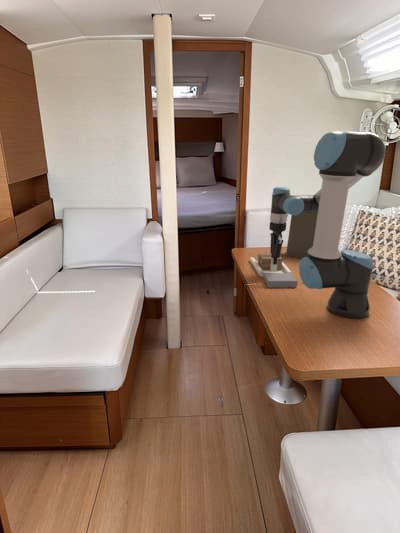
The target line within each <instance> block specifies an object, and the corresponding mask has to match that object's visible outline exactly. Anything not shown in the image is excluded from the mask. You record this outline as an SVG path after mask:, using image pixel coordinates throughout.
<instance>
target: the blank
mask: <svg viewBox="0 0 400 533" xmlns="http://www.w3.org/2000/svg"><path fill="white" fill-rule="evenodd" d="M257 255H258V257H257V261H258V265H259V266H260V268H261V269H262V270H270V268H271V253H258V254H257ZM282 262H283V258H282V257H281V256H280V258H278V262H277V270H281V267H282Z"/></svg>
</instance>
